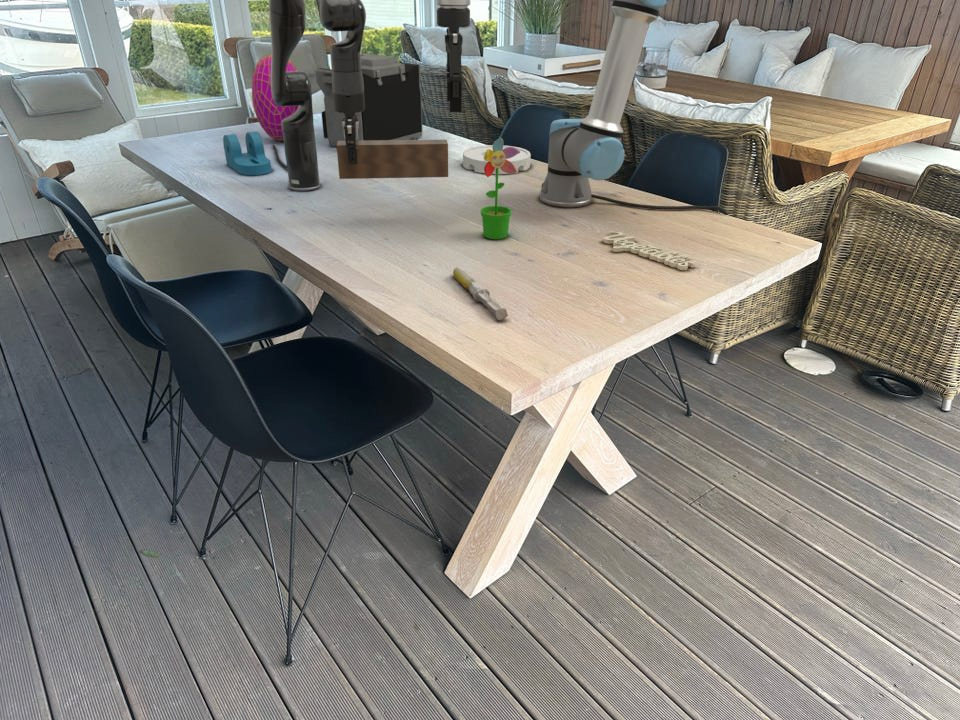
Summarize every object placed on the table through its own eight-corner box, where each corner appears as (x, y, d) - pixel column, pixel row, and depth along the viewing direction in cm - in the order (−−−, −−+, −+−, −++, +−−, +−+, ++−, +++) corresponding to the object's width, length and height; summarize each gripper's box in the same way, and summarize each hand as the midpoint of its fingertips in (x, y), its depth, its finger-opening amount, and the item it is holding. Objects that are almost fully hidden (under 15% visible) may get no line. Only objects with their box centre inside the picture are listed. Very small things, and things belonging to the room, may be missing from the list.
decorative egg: (293, 132, 276) (283, 50, 261) (319, 140, 264) (310, 56, 249) (249, 139, 265) (236, 54, 250) (273, 148, 253) (261, 60, 238)
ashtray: (464, 155, 246) (464, 144, 244) (529, 157, 246) (529, 145, 244) (461, 173, 226) (461, 161, 224) (531, 174, 226) (531, 162, 224)
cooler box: (385, 129, 283) (380, 49, 267) (426, 136, 272) (424, 54, 256) (318, 145, 257) (309, 59, 242) (361, 155, 246) (354, 64, 231)
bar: (446, 172, 181) (446, 139, 177) (448, 177, 177) (448, 143, 173) (340, 173, 178) (337, 140, 174) (339, 179, 174) (336, 145, 170)
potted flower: (487, 243, 172) (489, 140, 159) (473, 233, 178) (473, 134, 165) (519, 237, 176) (524, 137, 163) (505, 227, 182) (508, 130, 169)
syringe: (449, 274, 155) (449, 263, 153) (465, 272, 156) (464, 260, 154) (490, 323, 135) (491, 310, 133) (508, 319, 136) (508, 307, 134)
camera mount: (227, 164, 233) (221, 132, 227) (257, 160, 238) (252, 129, 233) (244, 176, 220) (239, 143, 215) (276, 172, 225) (271, 139, 220)
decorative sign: (589, 238, 172) (614, 230, 178) (588, 242, 173) (613, 233, 179) (677, 270, 156) (702, 259, 161) (677, 274, 156) (701, 263, 162)
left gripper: (334, 85, 171) (340, 154, 180) (330, 95, 159) (336, 169, 168) (364, 85, 172) (369, 153, 181) (363, 95, 160) (367, 168, 169)
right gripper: (435, 3, 164) (436, 97, 175) (438, 10, 143) (440, 116, 154) (466, 3, 165) (466, 96, 176) (474, 10, 143) (473, 116, 154)
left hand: (353, 160), depth 174 cm, fingers closed on bar, 4 cm apart
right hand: (454, 106), depth 165 cm, fingers open, 13 cm apart
